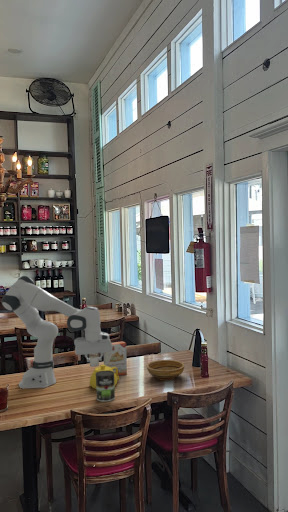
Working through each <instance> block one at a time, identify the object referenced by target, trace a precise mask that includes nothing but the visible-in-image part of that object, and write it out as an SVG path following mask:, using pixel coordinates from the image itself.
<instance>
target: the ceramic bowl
mask: <svg viewBox="0 0 288 512" xmlns="http://www.w3.org/2000/svg"><path fill="white" fill-rule="evenodd" d="M185 366H186V364H185V363H184V362H182V361H180V360H173V359H158V360H154V361H150V362H148V363H147V364H146V365H145V367H146V370H147V372H148V374H150V376H153V377H154V378H156V379H157V378H158V380H159V379H160V381H171V380H172V381H173V380H174V379H176V377H178V376H180V375H182V373H183V372H184V370H185Z"/></svg>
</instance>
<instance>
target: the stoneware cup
mask: <svg viewBox="0 0 288 512" xmlns="http://www.w3.org/2000/svg"><path fill="white" fill-rule="evenodd" d="M99 357H100V353H94V354H88V358H90V362H89V366H90V367H92V368H93V367H95V368H96V367H100V361H99Z"/></svg>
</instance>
